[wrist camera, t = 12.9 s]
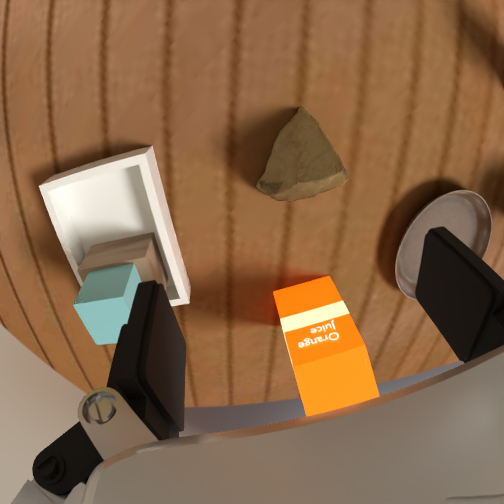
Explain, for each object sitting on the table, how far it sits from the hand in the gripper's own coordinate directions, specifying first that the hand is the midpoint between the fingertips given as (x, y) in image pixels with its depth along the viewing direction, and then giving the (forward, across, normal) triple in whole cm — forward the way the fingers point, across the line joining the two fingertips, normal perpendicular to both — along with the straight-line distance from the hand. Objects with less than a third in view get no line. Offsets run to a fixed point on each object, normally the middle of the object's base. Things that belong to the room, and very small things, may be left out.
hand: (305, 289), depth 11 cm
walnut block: (+28, +17, +13) cm, 35 cm away
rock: (+29, -5, +3) cm, 29 cm away
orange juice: (+29, -6, +26) cm, 39 cm away
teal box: (+22, +17, +13) cm, 30 cm away
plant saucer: (+29, -30, +20) cm, 46 cm away
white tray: (+28, +17, +9) cm, 34 cm away
